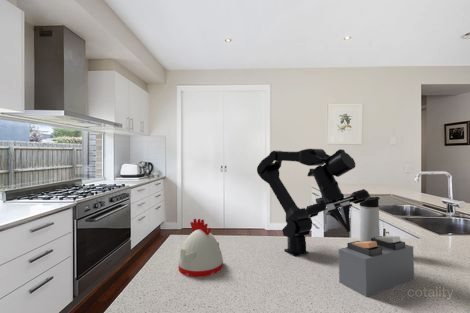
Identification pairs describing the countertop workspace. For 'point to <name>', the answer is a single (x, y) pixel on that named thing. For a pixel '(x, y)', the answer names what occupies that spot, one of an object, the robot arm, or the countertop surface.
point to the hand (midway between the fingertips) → (348, 231)
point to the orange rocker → (366, 244)
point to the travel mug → (369, 219)
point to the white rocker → (389, 239)
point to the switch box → (375, 266)
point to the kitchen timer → (200, 252)
